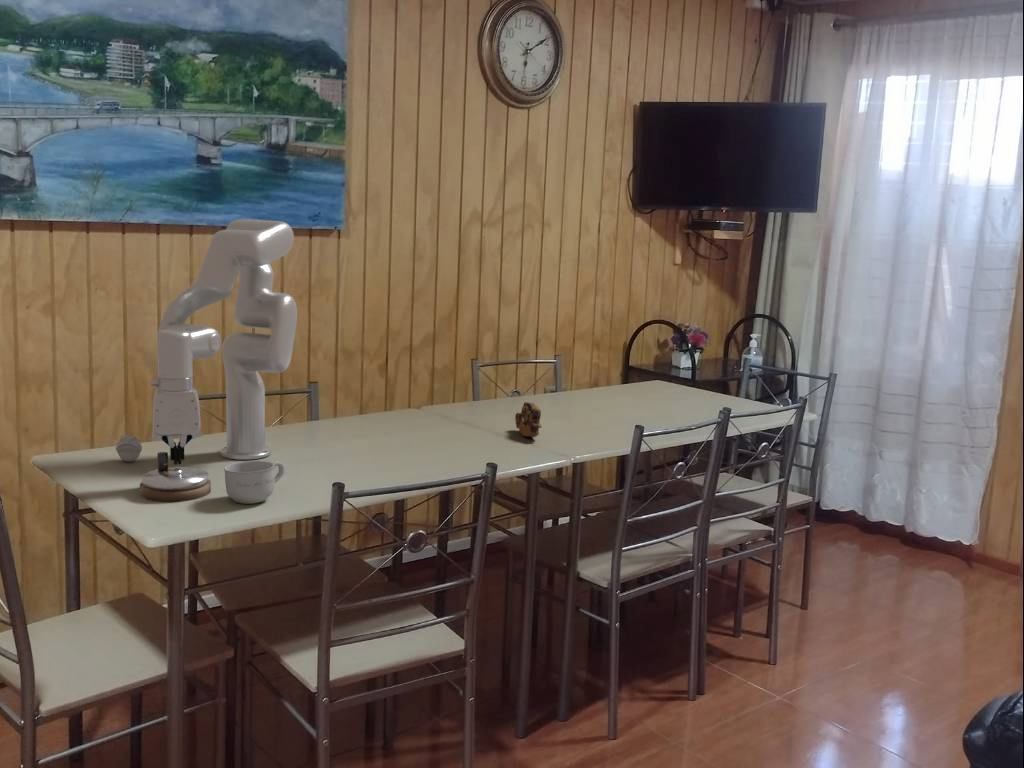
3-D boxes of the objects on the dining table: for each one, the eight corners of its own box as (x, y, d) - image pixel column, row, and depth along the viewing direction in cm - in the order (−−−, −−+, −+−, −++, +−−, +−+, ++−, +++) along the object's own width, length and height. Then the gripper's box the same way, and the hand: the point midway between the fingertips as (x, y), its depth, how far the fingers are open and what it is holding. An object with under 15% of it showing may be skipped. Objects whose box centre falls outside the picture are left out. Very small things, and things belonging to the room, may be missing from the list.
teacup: (235, 510, 211) (234, 474, 209) (217, 497, 220) (216, 462, 218) (296, 501, 219) (296, 466, 218) (276, 488, 228) (276, 454, 226)
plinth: (141, 484, 226) (141, 475, 226) (209, 481, 231) (209, 472, 231) (138, 503, 212) (138, 494, 212) (211, 499, 217) (211, 491, 217)
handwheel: (130, 480, 221) (129, 456, 220) (187, 470, 231) (187, 447, 230) (162, 494, 212) (161, 469, 211) (220, 483, 222) (220, 459, 221)
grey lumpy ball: (113, 465, 241) (112, 437, 239) (118, 458, 247) (118, 430, 246) (140, 465, 242) (139, 437, 240) (144, 457, 248) (144, 430, 247)
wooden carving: (508, 430, 296) (510, 397, 294) (522, 429, 298) (524, 397, 296) (531, 443, 281) (533, 408, 279) (546, 442, 283) (547, 408, 281)
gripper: (140, 388, 217) (143, 469, 220) (211, 386, 222) (213, 465, 226) (139, 382, 224) (142, 460, 227) (208, 380, 229) (210, 457, 233)
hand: (177, 462), depth 226 cm, fingers closed
